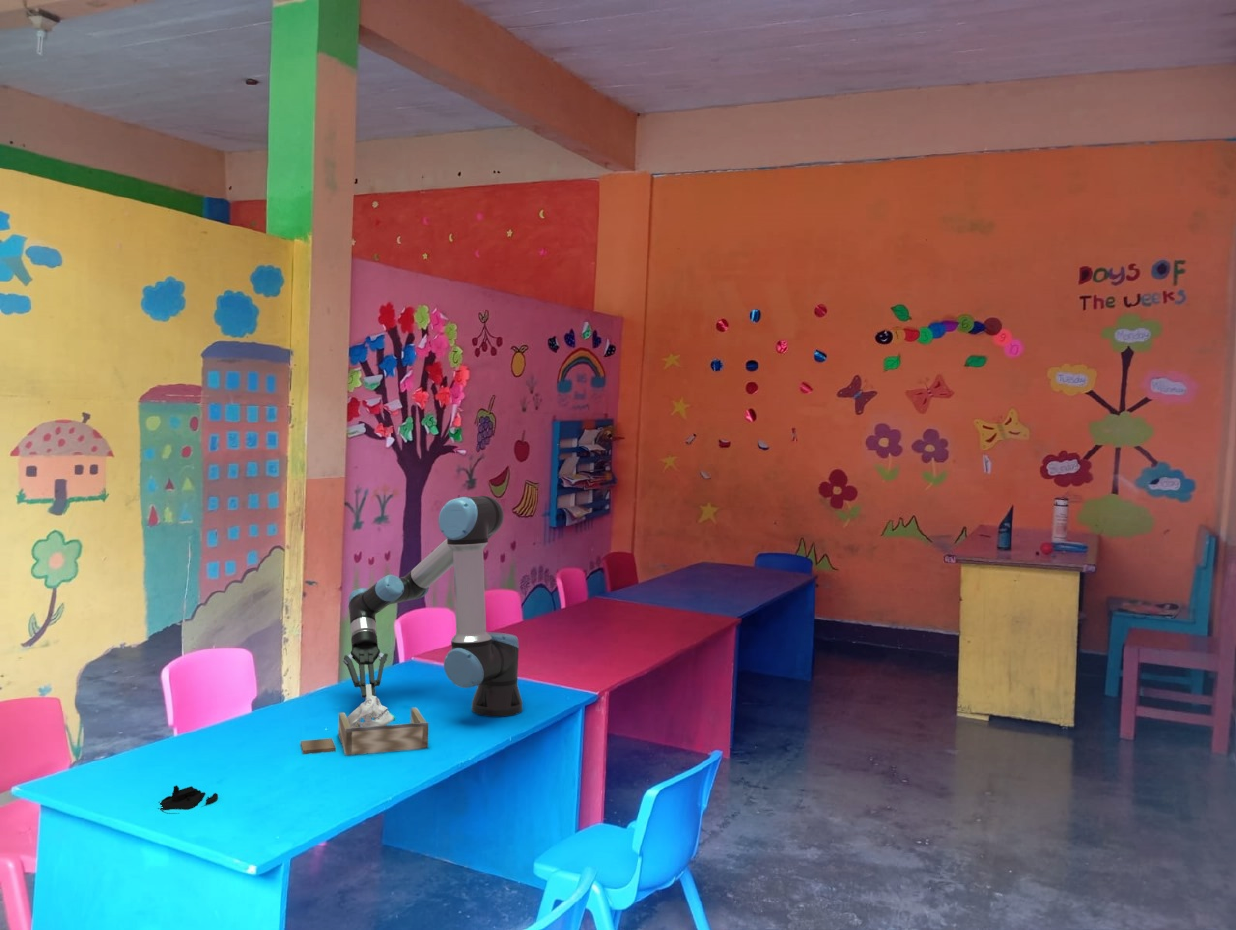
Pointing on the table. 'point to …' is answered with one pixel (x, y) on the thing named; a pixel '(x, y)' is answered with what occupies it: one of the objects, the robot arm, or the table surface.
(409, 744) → the brown wooden box
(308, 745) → the lid plate
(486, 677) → the robot arm
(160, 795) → the table surface
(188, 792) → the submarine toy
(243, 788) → the table surface
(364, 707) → the white rock
